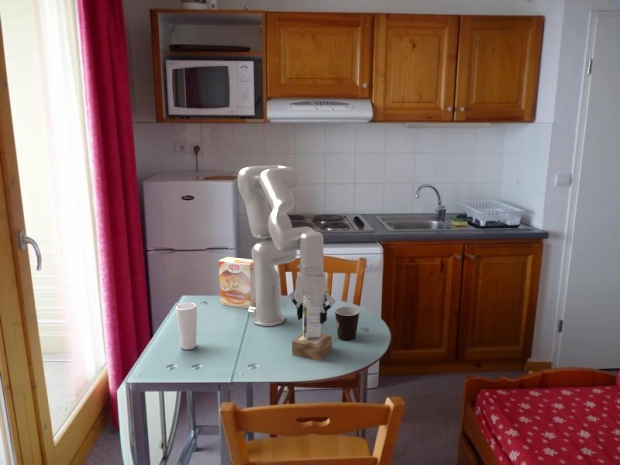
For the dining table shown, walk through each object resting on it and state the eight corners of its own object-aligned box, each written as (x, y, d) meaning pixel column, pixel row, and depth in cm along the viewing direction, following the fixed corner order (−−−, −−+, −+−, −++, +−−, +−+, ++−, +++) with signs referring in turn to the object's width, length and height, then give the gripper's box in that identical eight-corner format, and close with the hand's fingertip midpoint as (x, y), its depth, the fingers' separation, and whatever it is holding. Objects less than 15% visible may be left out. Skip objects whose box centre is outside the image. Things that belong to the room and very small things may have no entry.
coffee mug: (357, 343, 171) (357, 316, 169) (333, 341, 173) (333, 314, 171) (360, 329, 183) (361, 304, 180) (337, 328, 184) (338, 302, 182)
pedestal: (292, 354, 163) (292, 340, 162) (305, 342, 172) (305, 329, 171) (319, 360, 159) (319, 346, 158) (331, 348, 168) (331, 334, 167)
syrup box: (302, 330, 167) (301, 290, 163) (319, 330, 167) (319, 289, 164) (303, 338, 161) (303, 296, 158) (321, 337, 162) (321, 295, 159)
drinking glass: (181, 353, 165) (178, 311, 161) (176, 345, 171) (173, 304, 167) (201, 348, 168) (198, 307, 165) (195, 341, 174) (193, 301, 170)
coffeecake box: (220, 304, 209) (218, 260, 204) (228, 299, 215) (226, 256, 211) (251, 309, 203) (249, 264, 199) (259, 303, 210) (258, 259, 205)
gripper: (282, 269, 160) (283, 320, 164) (331, 276, 152) (331, 329, 156) (293, 263, 166) (293, 312, 170) (341, 269, 159) (340, 320, 163)
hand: (311, 320), depth 163 cm, fingers closed on syrup box, 7 cm apart
